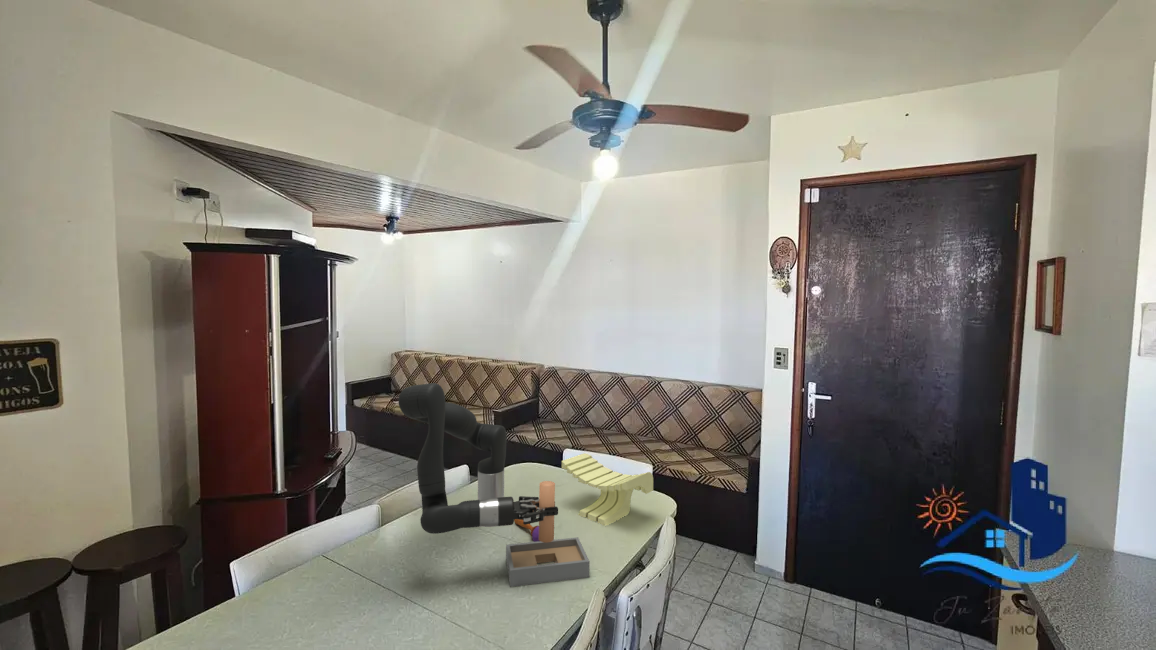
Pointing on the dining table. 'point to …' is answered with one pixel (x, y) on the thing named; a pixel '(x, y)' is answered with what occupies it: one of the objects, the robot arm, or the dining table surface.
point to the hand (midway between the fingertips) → (556, 507)
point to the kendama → (533, 529)
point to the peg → (544, 501)
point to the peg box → (562, 551)
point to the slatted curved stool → (607, 488)
